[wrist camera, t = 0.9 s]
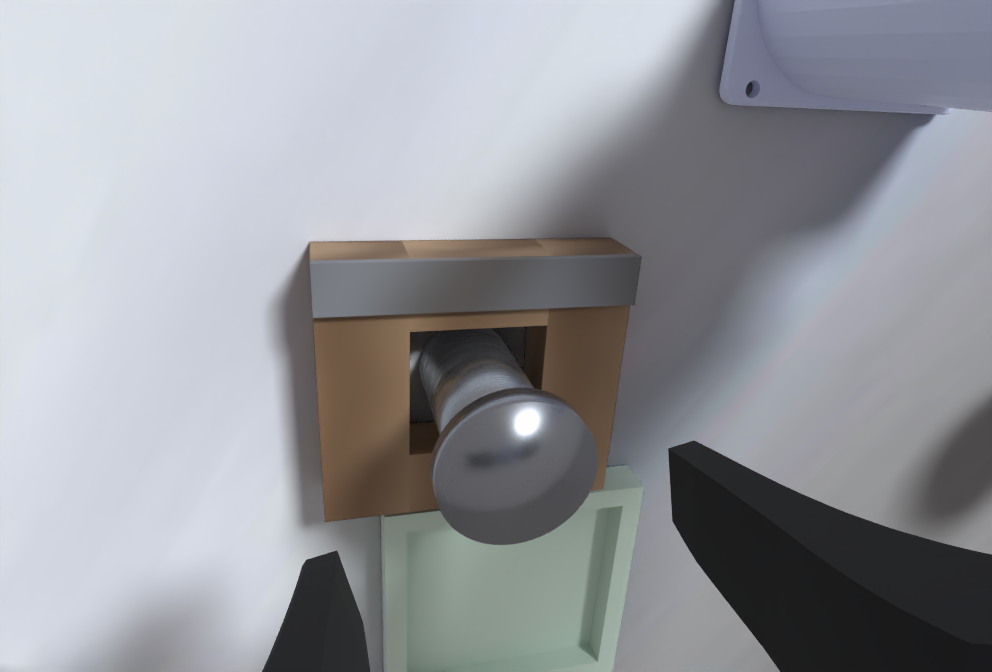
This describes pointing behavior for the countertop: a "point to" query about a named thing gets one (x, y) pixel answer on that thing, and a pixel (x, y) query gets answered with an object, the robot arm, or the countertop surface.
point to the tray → (510, 590)
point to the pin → (501, 442)
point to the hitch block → (453, 306)
